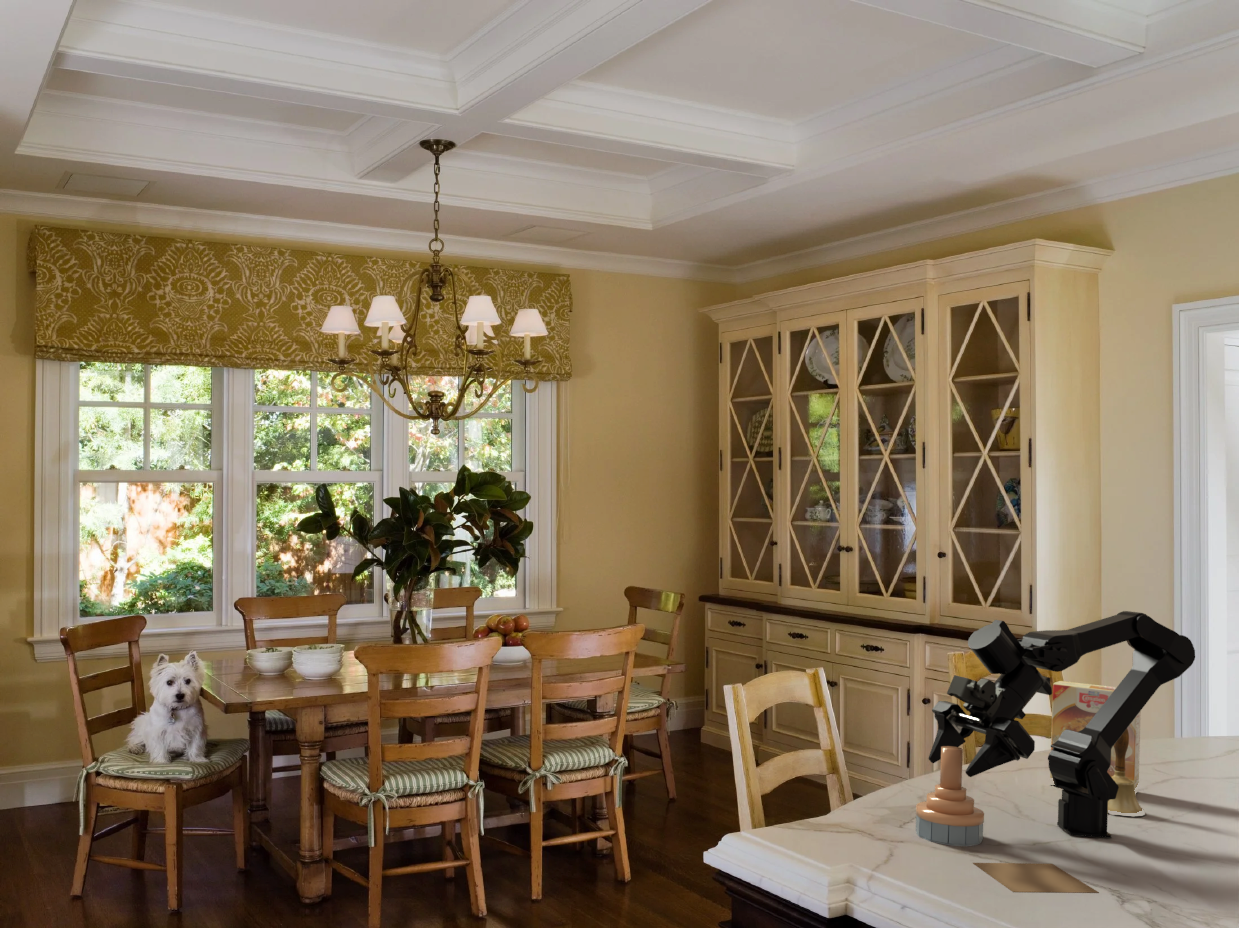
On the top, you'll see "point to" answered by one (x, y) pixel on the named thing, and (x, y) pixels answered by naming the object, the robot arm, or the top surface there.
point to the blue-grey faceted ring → (949, 833)
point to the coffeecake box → (1077, 710)
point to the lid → (950, 795)
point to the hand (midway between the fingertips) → (948, 767)
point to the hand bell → (1123, 781)
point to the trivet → (1034, 878)
